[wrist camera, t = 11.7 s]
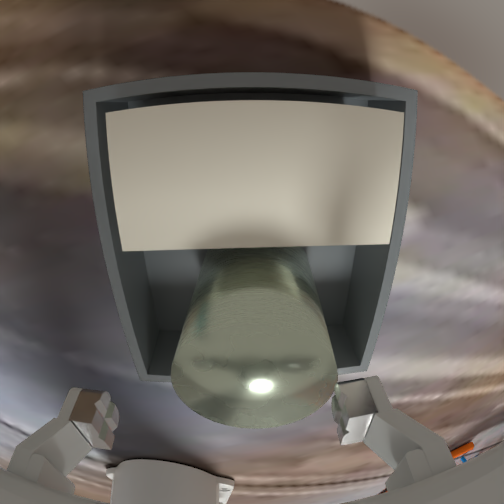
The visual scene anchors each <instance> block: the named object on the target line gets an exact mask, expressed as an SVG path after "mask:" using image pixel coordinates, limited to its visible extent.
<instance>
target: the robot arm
mask: <svg viewBox="0 0 504 504" xmlns="http://www.w3.org/2000/svg"><path fill="white" fill-rule="evenodd" d="M334 391H335V394H336V395H334V396H333V398H332V414H333V418H334V421H335V422H336V423H338V428H337V433H338V437H339V441H340V444H341V445H345V444H351V443H356V442H361V441H363V442H364V443H365V444H366V445H367V446H368V447H369V448H370V449H371V450H372V451H374V452H375V453H376V454H377V455H378V456H379V457H380V458H381V459H383V460H384V461H385V462H386V463H387V464H388V465H389V466H391V467H392V468H393V469H394V472H393V473H392V474H391V476H390V477H389V478H388V480H387V481H386V483H385V485H386V488H387V491H388V492H385V493H382V494H378V495H375V496H371V497H367V498H363V499H359V500H355V501H350V502H346V503H341V504H504V442H502V443H501V444H499V445H497V446H495V447H493V448H492V449H490V450H488V451H486V452H484V453H482V454H480V455H478V456H476V457H474V458H472V459H470V460H468V461H466V462H464V463H462V464H460V465H458V466H456V464H455V461H454V459H453V457H452V455H451V453H450V450H449V448H448V446H447V444H446V442H445V440H444V438H442V437H441V436H439V435H437V434H436V433H434V432H433V431H431V430H429V429H428V428H426V427H425V426H423V425H422V424H420V423H418V422H417V421H415V420H414V419H412V418H411V417H409V416H407V415H406V414H404V413H403V412H401V411H400V410H398V409H393V408H392V406H391V403H390V401H389V399H388V397H387V394H386V392H385V390H384V388H383V386H382V383H381V381H380V379H379V377H378V376H372V377H367V378H360V379H355V380H350V381H344V382H338V383H336V384H335V388H334ZM110 400H111V396H110V394H109V393H108V392H106V391H98V390H90V389H83V388H75V387H73V388H71V389H70V390H69V392H68V395H67V397H66V399H65V401H64V404H63V406H62V408H61V410H60V413H59V415H58V417H57V418H53V419H52V420H51V421H49V422H48V423H47V424H45V425H44V426H43V427H41V428H40V429H39V430H37V431H36V432H35V433H33V434H32V435H31V436H29V437H28V438H27V439H25V440H24V441H23V442H21V443H20V444H19V445H17V446H16V449H15V451H14V453H13V456H12V458H11V461H10V463H9V466H8V468H7V470H5V469H3V468H0V504H109V503H105V502H100V501H96V500H92V499H88V498H84V497H80V496H77V495H73V494H74V490H75V485H74V484H73V483H72V482H71V481H70V480H69V479H67V478H66V476H67V475H68V474H69V473H70V472H71V471H72V470H73V469H74V468H75V467H76V466H77V465H78V464H79V462H80V461H81V460H82V459H83V458H84V457H85V456H86V455H87V454H88V453H89V452H90V451H91V450H92V449H93V448H100V449H107V450H111V449H112V446H113V442H114V438H115V435H114V433H113V431H114V430H115V429H116V428H117V427H118V423H119V412H118V408H117V407H116V405H115V404H114V403H112V402H111V401H110ZM92 447H93V448H92ZM106 475H107V476H108V477H109V478H110V479H111V480H113V482H112V491H111V501H110V504H226V502H227V500H228V498H229V496H230V494H231V492H232V490H233V488H234V481H233V480H230V479H226V478H221V477H216V476H213V475H211V474H209V473H207V472H204V471H202V470H199V469H196V468H193V467H189V466H186V465H181V464H177V463H172V462H166V461H158V460H146V459H135V460H127V461H124V462H122V463H120V464H119V465H118V466H117V467H114V468H108V469H107V470H106Z"/></svg>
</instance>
